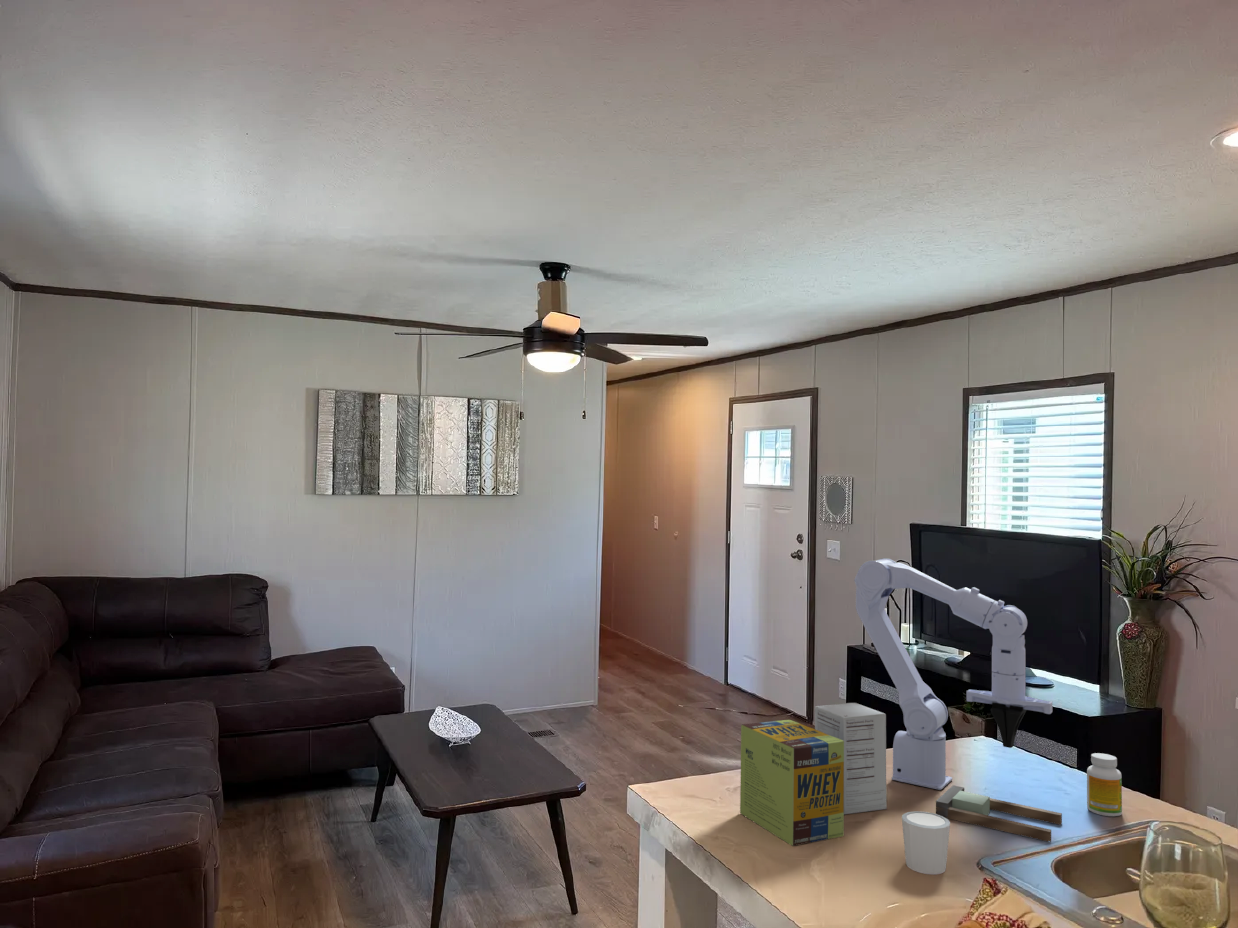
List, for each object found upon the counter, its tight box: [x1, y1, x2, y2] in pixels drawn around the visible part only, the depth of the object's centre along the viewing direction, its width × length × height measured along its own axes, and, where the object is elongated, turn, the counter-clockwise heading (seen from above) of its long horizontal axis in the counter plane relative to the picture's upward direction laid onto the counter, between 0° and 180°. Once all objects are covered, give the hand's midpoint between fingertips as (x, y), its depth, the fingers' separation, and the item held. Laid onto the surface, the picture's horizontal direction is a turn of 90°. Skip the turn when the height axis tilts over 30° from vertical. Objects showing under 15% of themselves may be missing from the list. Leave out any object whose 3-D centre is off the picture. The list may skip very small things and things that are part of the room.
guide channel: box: [935, 784, 1063, 842], centre depth 147 cm, size 18×10×2 cm, turn 53°
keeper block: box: [952, 790, 991, 816], centre depth 149 cm, size 5×5×3 cm
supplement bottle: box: [1086, 752, 1123, 817], centre depth 151 cm, size 5×5×10 cm
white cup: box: [901, 810, 951, 875], centre depth 128 cm, size 7×7×7 cm
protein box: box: [739, 719, 845, 847], centre depth 143 cm, size 10×15×16 cm
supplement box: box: [814, 702, 887, 815], centre depth 154 cm, size 10×9×17 cm
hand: (1008, 746), depth 158 cm, fingers closed
